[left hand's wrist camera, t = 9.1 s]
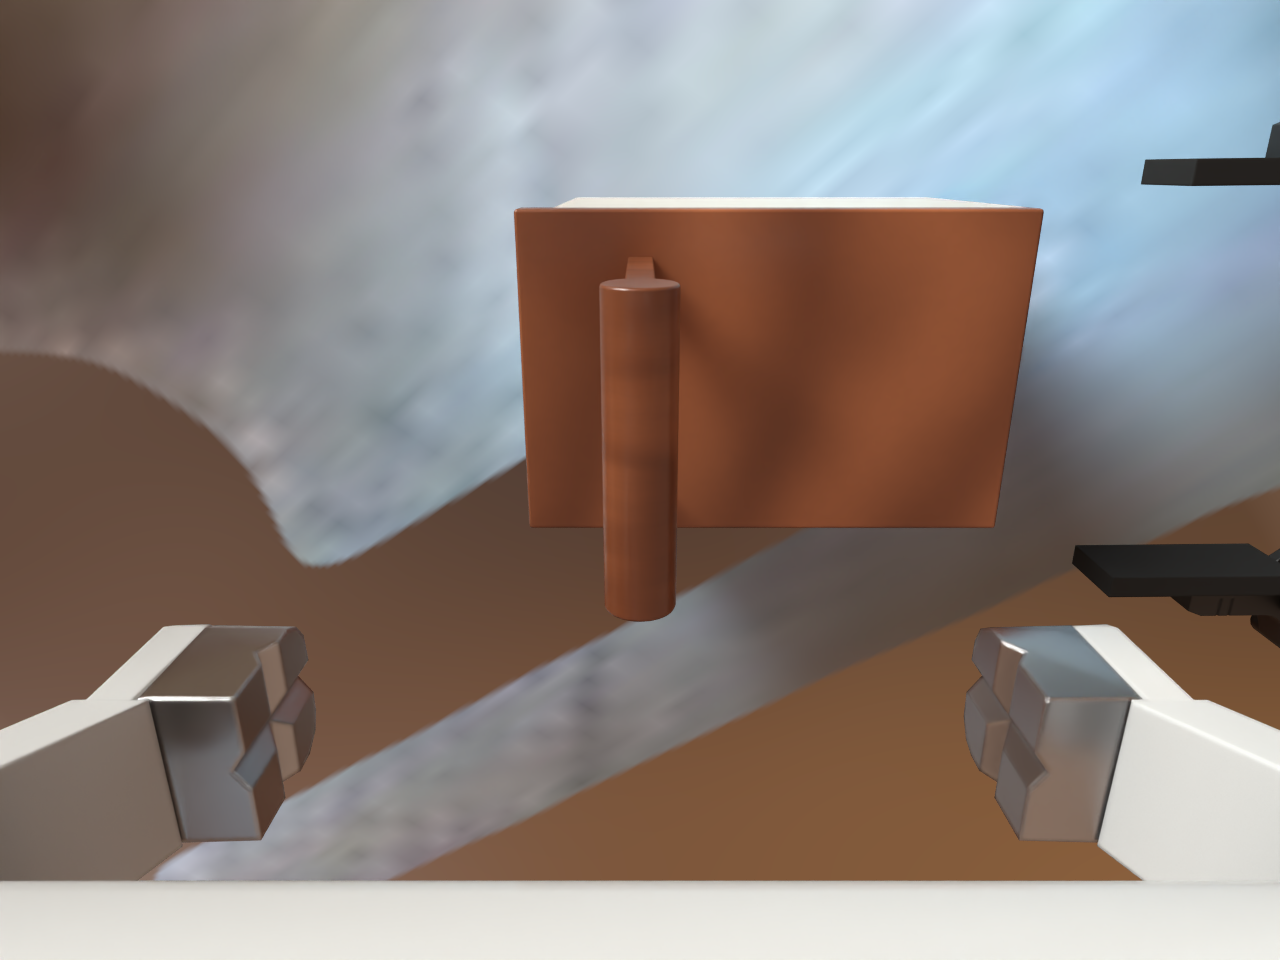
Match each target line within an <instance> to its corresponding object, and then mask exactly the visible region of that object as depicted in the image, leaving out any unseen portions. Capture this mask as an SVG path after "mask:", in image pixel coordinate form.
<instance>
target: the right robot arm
mask: <svg viewBox="0 0 1280 960" xmlns="http://www.w3.org/2000/svg"><path fill="white" fill-rule="evenodd" d="M1141 184H1145V185H1178V186H1227V185H1280V122H1279V123H1277V124H1274V125H1273V126H1272V130H1271V135H1270V139H1269V144H1268V148H1267V152H1266V157H1265V158H1215V159H1155V160H1145V165H1144V170H1143V176H1142V181H1141ZM1072 564H1073V565H1074V566H1076V567H1077V568H1078V569H1079V570H1080V571H1081V572H1082V573H1083V574H1084V575H1085V576H1086V577H1088V578H1089V579H1090V580H1091V581H1092V582H1093V583H1094V584H1095V585H1096V586H1097V587H1098V588H1100V589H1101V590H1102V591H1103V592H1104V593H1105V594H1106V595H1107V596H1108V597H1169V596H1170V597H1172V598H1173V599H1174V600H1175V601H1176V602H1178V603H1179V604H1180V605H1181V606H1183V607H1184V608H1185V609H1186V610H1188V611H1190V612H1192V613H1195V614H1198V615H1200V616H1215V615H1219V616H1226V615H1252V616H1251V619H1250V620H1251V625H1252V627H1253V628H1254V629H1255V630H1257V631H1258V632H1259V633H1261V634H1262V635H1263V636H1264V637H1266V638H1267V639H1268V640H1270V641H1271V642H1273V643H1274V644H1275V645H1276V646H1278V647H1279V648H1280V549H1278V550H1277V551H1275V552H1274V553H1272V554H1271V555H1269V556H1268V555H1266V554H1264V553H1263V552H1261V551H1260V550H1258V549H1256V548H1255V547H1253V546H1251V545H1250V544H1165V545H1075V550H1074V556H1073V561H1072Z"/></svg>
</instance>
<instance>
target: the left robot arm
mask: <svg viewBox="0 0 1280 960" xmlns="http://www.w3.org/2000/svg"><path fill="white" fill-rule="evenodd" d="M307 661H308V656H307V651H306V646H305V641H304V636H303V634H302V633H301V632H300V631H299V630H298V629H297V628H296V627H272V626H219V625H216V626H212V625H175V626H167V627H163V628H162V629H161V630H160V631H159V632H158V633H157V634H156V635H154V636H153V637H152V638H151V639H150V640H149V641H148V642H147V643H146V644H145V645H144V646H143V647H142V648H141V649H140V650H139V651H138V652H136V653H135V654H134V655H133V656H132V657H131V658H130V659H129V660H128V661H127V662H126V663H125V664H124V665H123V666H122V667H121V668H120V669H119V670H117V671H116V672H115V673H114V674H113V675H112V676H111V677H110V678H109V679H108V680H107V681H106V682H105V683H104V684H103V685H101V686H100V687H99V688H98V689H97V690H96V691H95V692H94V693H93V694H92V695H91V696H90V697H89V698H88V699H87V700H71V701H69V702H66V703H64V704H62V705H59V706H57V707H54V708H52V709H50V710H47V711H45V712H42V713H40V714H38V715H35V716H33V717H30V718H28V719H26V720H23V721H21V722H19V723H16V724H14V725H12V726H9V727H7V728H4V729H2V730H0V960H1280V730H1278V729H1276V728H1273V727H1271V726H1268V725H1266V724H1264V723H1261V722H1259V721H1256V720H1254V719H1252V718H1249V717H1247V716H1245V715H1242V714H1240V713H1237V712H1235V711H1233V710H1230V709H1228V708H1226V707H1223V706H1221V705H1218V704H1216V703H1214V702H1211V701H1209V700H1193V699H1192V698H1191V697H1190V696H1189V695H1188V694H1187V693H1186V692H1185V691H1184V690H1183V689H1182V688H1181V687H1180V686H1179V685H1177V683H1175V682H1174V681H1173V680H1172V679H1171V678H1170V677H1169V676H1168V675H1167V674H1166V673H1165V672H1164V671H1163V670H1162V669H1161V668H1160V667H1159V666H1158V665H1156V664H1155V663H1154V662H1153V661H1152V660H1151V659H1150V658H1149V657H1148V656H1147V655H1146V654H1145V653H1144V652H1143V651H1142V650H1141V649H1140V648H1139V647H1137V646H1136V645H1135V644H1134V643H1133V642H1132V641H1131V640H1130V639H1129V638H1128V637H1127V636H1126V635H1125V634H1124V633H1123V632H1122V631H1120V629H1118V628H1116V627H1113V626H1110V625H1107V624H1103V625H1080V626H1030V627H990V628H983V629H980V631H979V633H978V635H977V638H976V640H975V644H974V650H973V655H972V661H973V662H974V664H975V665H976V667H977V668H978V670H979V671H980V673H981V675H982V676H981V677H980V678H979V680H978V681H977V682H976V683H975V684H974V685H973V686H972V687H971V688H970V689H969V690H968V691H967V694H966V702H965V711H964V723H965V733H966V740H967V744H968V747H969V750H970V753H971V756H972V758H973V760H974V762H975V763H976V765H977V767H978V769H979V771H981V772H982V773H984V774H985V775H987V776H989V777H990V778H992V779H993V780H995V781H996V782H997V786H996V792H995V799H996V801H997V803H998V804H999V806H1000V808H1001V810H1002V811H1003V813H1004V815H1005V816H1006V818H1007V820H1008V822H1009V823H1010V825H1011V827H1012V829H1013V830H1014V832H1015V834H1016V836H1017V837H1018V839H1019V840H1025V841H1062V842H1098V845H1097V846H1098V847H1099V848H1101V849H1102V850H1103V851H1105V852H1106V853H1107V854H1109V855H1110V856H1111V857H1112V858H1114V859H1115V860H1116V861H1118V862H1119V863H1121V864H1122V865H1123V866H1124V867H1126V868H1127V869H1128V870H1130V871H1131V872H1132V873H1134V874H1135V875H1136V876H1137V877H1139V878H1140V879H1141V880H1143V881H138V880H139V879H140V878H142V877H143V876H144V875H145V874H147V873H148V872H149V871H151V870H152V869H153V868H155V867H156V866H157V865H159V864H160V863H161V862H163V861H164V860H165V859H167V858H168V857H169V856H170V855H172V854H173V853H174V852H176V851H177V850H178V849H180V848H181V847H182V842H217V841H252V840H261V839H262V838H263V836H264V834H265V832H266V831H267V829H268V827H269V825H270V824H271V822H272V820H273V818H274V817H275V815H276V813H277V811H278V810H279V808H280V806H281V804H282V803H283V801H284V799H285V792H284V786H283V781H285V780H287V779H288V778H290V777H291V776H293V775H295V774H296V773H298V772H299V771H301V769H302V767H303V765H304V763H305V761H306V760H307V758H308V756H309V754H310V750H311V746H312V742H313V738H314V734H315V726H316V708H315V701H314V694H313V691H312V690H311V689H310V688H309V687H308V686H307V685H306V684H305V683H304V682H303V681H302V680H301V678H300V677H299V676H298V675H299V673H300V671H301V670H302V669H303V667H304V665H305V664H306V662H307Z"/></svg>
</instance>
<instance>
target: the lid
mask: <svg viewBox="0 0 1280 960" xmlns="http://www.w3.org/2000/svg"><path fill="white" fill-rule="evenodd" d="M1043 213H1044V212H1043V210H1042V209H1039V208H1029V207H703V208H519V209H516V210H515V211H514V222H515V242H516V262H517V282H518V302H519V323H520V343H521V363H522V383H523V403H524V424H525V444H526V464H527V484H528V504H529V524H530V527H533V528H534V527H535V528H537V527H539V528H545V527H546V528H547V527H548V528H555V527H556V528H561V527H563V528H568V527H569V528H577V527H578V528H603V537H604V596H605V607H606V609H607V610H608V612H609V613H611V614H612V615H613V616H615V617H618V618H620V619H623V620H628V621H637V622H644V621H652V620H657V619H660V618H663V617H665V616H667V615H668V614H670V613H671V612H672V611H673V609H674V607H675V605H676V555H677V528H993V527H994V526H995V520H996V514H997V507H998V501H999V495H1000V488H1001V482H1002V475H1003V469H1004V463H1005V456H1006V450H1007V443H1008V437H1009V431H1010V424H1011V418H1012V411H1013V405H1014V399H1015V392H1016V386H1017V379H1018V373H1019V367H1020V360H1021V354H1022V347H1023V341H1024V335H1025V328H1026V322H1027V315H1028V309H1029V303H1030V296H1031V290H1032V284H1033V277H1034V271H1035V264H1036V258H1037V252H1038V245H1039V239H1040V232H1041V226H1042V220H1043Z"/></svg>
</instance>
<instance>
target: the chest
mask: <svg viewBox="0 0 1280 960" xmlns="http://www.w3.org/2000/svg"><path fill="white" fill-rule="evenodd" d="M703 207H1020V206H1010V205H999V204H989V203H979V202H969V201H959V200H949V199H939V198H928V197H686V198H575V199H572V200H570V201H568V202H566V203H563V204H561V205H559V206H556V207H554V208H703Z"/></svg>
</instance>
